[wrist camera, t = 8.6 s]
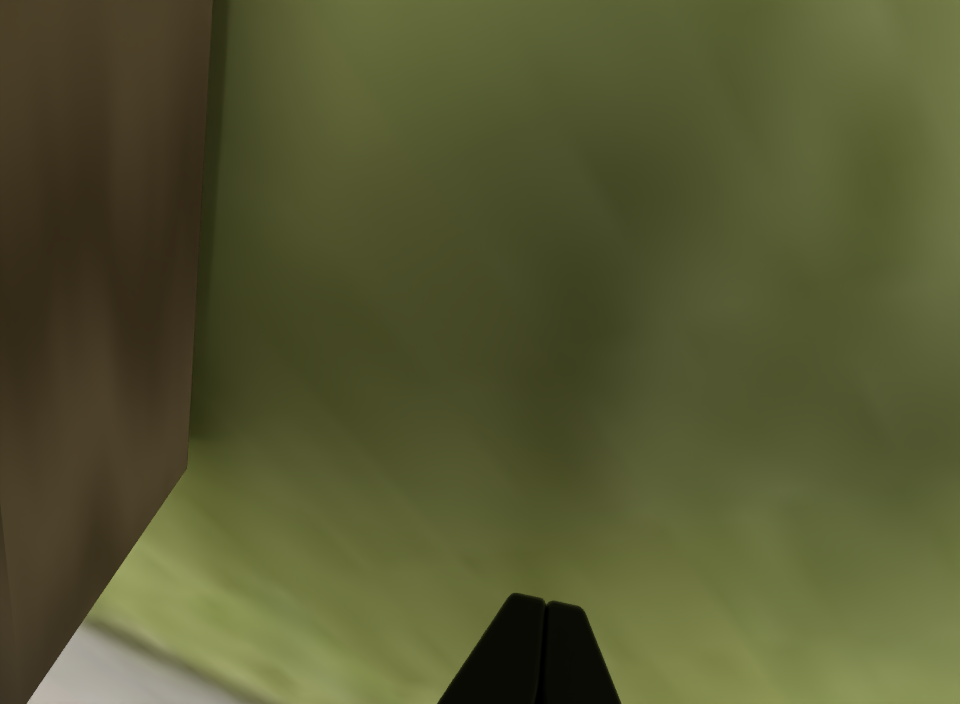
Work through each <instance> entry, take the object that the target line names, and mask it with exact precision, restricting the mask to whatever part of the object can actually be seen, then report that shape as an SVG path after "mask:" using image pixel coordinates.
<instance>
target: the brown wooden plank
mask: <svg viewBox="0 0 960 704" xmlns="http://www.w3.org/2000/svg"><path fill="white" fill-rule="evenodd" d="M212 8H213V0H0V704H27V702H28V701H29V699H30V698H31V696H32V695H33V693H34V692H35V690H36V689H37V687H38V686H39V685H40V683H41V682H42V680H43V679H44V677H45V676H46V674H47V673H48V671H49V670H50V668H51V667H52V665H53V664H54V663H55V661H56V660H57V658H58V657H59V655H60V654H61V652H62V651H63V649H64V648H65V646H66V645H67V643H68V642H69V640H70V639H71V638H72V636H73V635H74V633H75V632H76V630H77V629H78V627H79V626H80V624H81V623H82V621H83V620H84V618H85V617H86V616H87V614H88V613H89V611H90V610H91V608H92V607H93V605H94V604H95V602H96V601H97V599H98V598H99V596H100V595H101V593H102V592H103V591H104V589H105V588H106V586H107V585H108V583H109V582H110V580H111V579H112V577H113V576H114V574H115V573H116V571H117V570H118V569H119V567H120V566H121V564H122V563H123V561H124V560H125V558H126V557H127V555H128V554H129V552H130V551H131V549H132V548H133V546H134V545H135V544H136V542H137V541H138V539H139V538H140V536H141V535H142V533H143V532H144V530H145V529H146V527H147V526H148V524H149V523H150V522H151V520H152V519H153V517H154V516H155V514H156V513H157V511H158V510H159V508H160V507H161V505H162V504H163V502H164V501H165V499H166V498H167V497H168V495H169V494H170V492H171V491H172V489H173V488H174V486H175V485H176V483H177V482H178V480H179V479H180V477H181V476H182V475H183V473H184V472H185V470H186V469H187V459H188V441H189V423H190V405H191V387H192V369H193V351H194V333H195V315H196V297H197V278H198V260H199V242H200V224H201V206H202V188H203V170H204V152H205V134H206V116H207V98H208V80H209V62H210V44H211V26H212Z"/></svg>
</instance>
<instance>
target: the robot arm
mask: <svg viewBox="0 0 960 704" xmlns="http://www.w3.org/2000/svg"><path fill="white" fill-rule="evenodd" d="M437 704H621V701H620V699H619V696H618V694H617V691H616V689H615V686H614V684H613V681H612V679H611V676H610V674H609V671H608V668H607V666H606V663H605V661H604V658H603V656H602V653H601V651H600V648H599V646H598V643H597V641H596V638H595V636H594V633H593V631H592V628H591V626H590V623H589V621H588V618H587V616H586V613H585V611H584V610H583V609H582V608H581V607H579V606H576V605H572V604H567V603H562V602H558V601H550V602H548V603H547V605H546V603H545V601H544V600H543V599H542V598H539V597H534V596H529V595H525V594H520V593H513V594H511V595H510V596H509V597H508V598H507V600H506V601H505V603H504V604H503V606H502V607H501V609H500V610H499V612H498V613H497V615H496V616H495V618H494V619H493V621H492V622H491V624H490V625H489V627H488V628H487V630H486V631H485V633H484V634H483V636H482V637H481V639H480V640H479V642H478V643H477V645H476V646H475V648H474V649H473V651H472V652H471V654H470V655H469V657H468V658H467V660H466V661H465V662H464V664H463V665H462V667H461V668H460V670H459V671H458V673H457V674H456V676H455V677H454V679H453V680H452V682H451V683H450V685H449V686H448V688H447V689H446V691H445V692H444V694H443V695H442V697H441V698H440V700H439V701H438V703H437Z"/></svg>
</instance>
